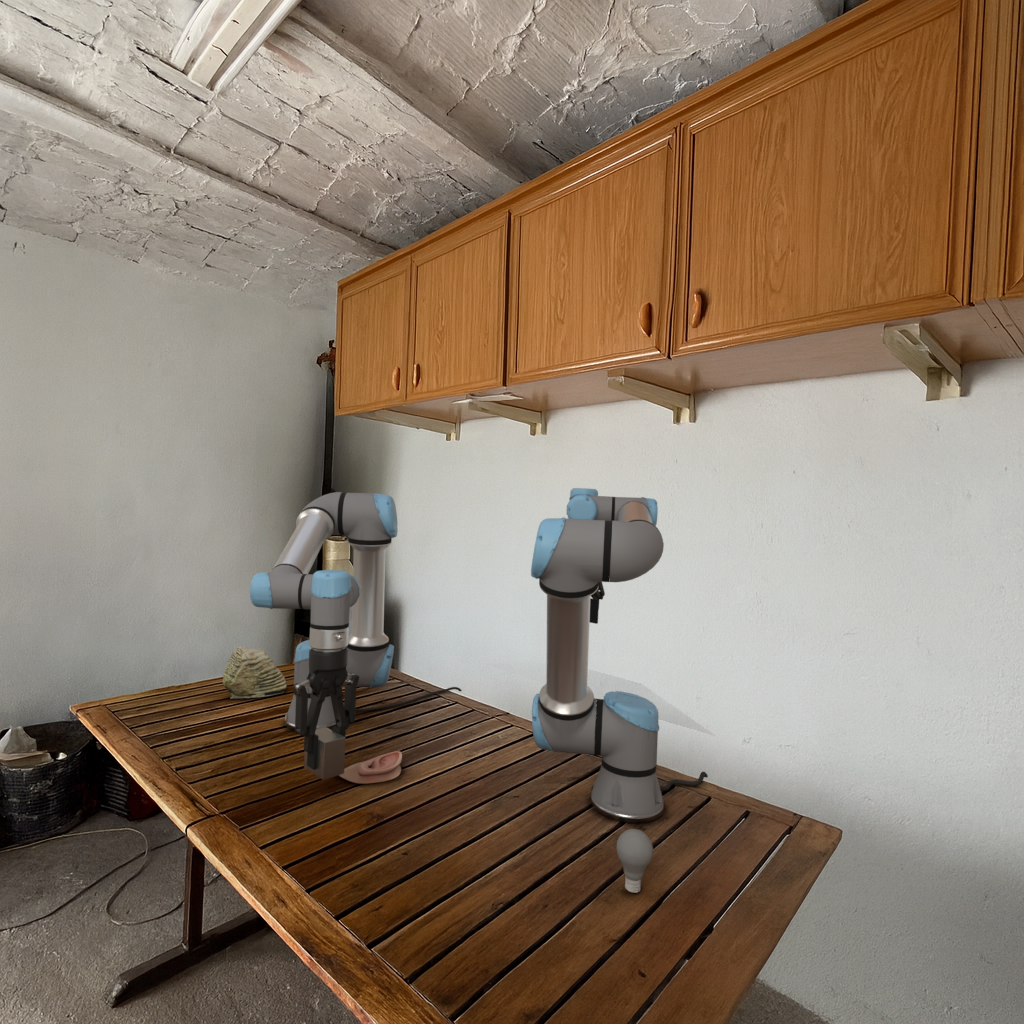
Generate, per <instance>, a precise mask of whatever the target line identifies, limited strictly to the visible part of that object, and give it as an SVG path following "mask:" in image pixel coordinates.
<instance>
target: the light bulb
mask: <svg viewBox="0 0 1024 1024" xmlns="http://www.w3.org/2000/svg"><path fill="white" fill-rule="evenodd" d="M615 849H616V854H617V857H618V859H619V861H620V863H621V865H622V867H623V873H624V874H623V875H624V876H625V878H624V888H625V890H627V891H628V892H630V893H634V894H635V893H639V892H640V891H641V889H642V887H641V886H642V879H643V877H644V875H645V871H646V868H647V867H648V866H649V864H650V863H651V861H652V859H653V855H654V847H653V843H652V841H651V838H649V836H648V835H647V834H646V833H645V832H643V831H642V830H641V829H636V828H629V829H627V830H625V831H623V832H622V833H621V834H620V835H619V837H618V839H617V841H616V847H615Z"/></svg>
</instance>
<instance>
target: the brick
mask: <svg viewBox="0 0 1024 1024" xmlns="http://www.w3.org/2000/svg"><path fill="white" fill-rule="evenodd" d="M315 734H316V735H318V758H317V769H315V770H313V769H312V768H310V767H308V766H307V752H306V751H305V750H304V752H303V753H304V756H303V769H305V770H307V771H309V772H310V773H311V774H313V775H315V776H316V777H317V778H319V779H321V780H323V781H325V780H327V779H331V778H334V777H338V776H339V775H341V774H344V769H345V761H346V760H345V758H346V736H345V737H344V736H342V735H340V734H338V733H336V732H334V731H333V730H332V729H329V728H327V727H324V728H320V729H316V731H315Z"/></svg>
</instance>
